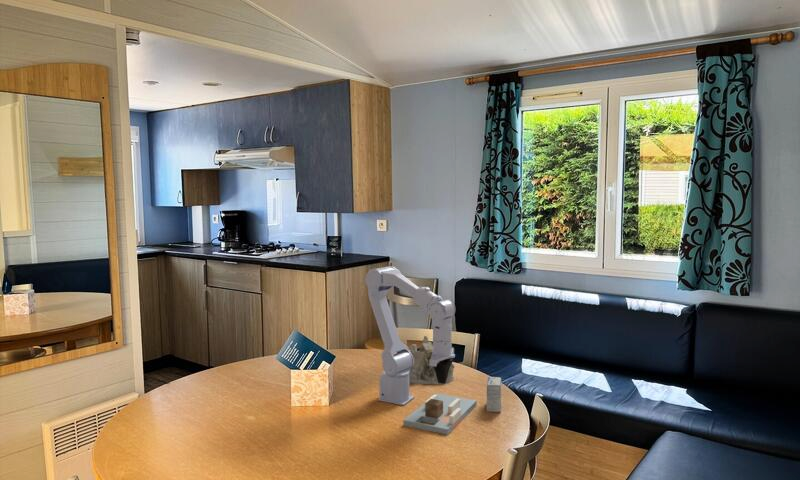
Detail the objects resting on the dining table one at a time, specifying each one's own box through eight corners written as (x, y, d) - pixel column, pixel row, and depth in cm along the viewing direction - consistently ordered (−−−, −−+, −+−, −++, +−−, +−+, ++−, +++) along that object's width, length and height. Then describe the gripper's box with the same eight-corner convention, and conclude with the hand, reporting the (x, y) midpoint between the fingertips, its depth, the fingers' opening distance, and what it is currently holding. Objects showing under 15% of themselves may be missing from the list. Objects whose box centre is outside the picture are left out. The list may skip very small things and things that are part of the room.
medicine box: (500, 412, 172) (501, 385, 171) (486, 411, 173) (486, 384, 172) (501, 403, 180) (501, 377, 179) (487, 402, 181) (487, 376, 180)
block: (425, 416, 166) (425, 403, 166) (430, 411, 169) (430, 398, 169) (437, 418, 164) (437, 405, 164) (443, 413, 168) (443, 400, 167)
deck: (403, 425, 163) (403, 412, 163) (436, 398, 185) (436, 386, 184) (447, 434, 157) (447, 421, 157) (476, 405, 178) (476, 393, 178)
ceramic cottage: (397, 377, 204) (400, 337, 203) (431, 370, 215) (433, 332, 213) (424, 392, 192) (428, 350, 191) (459, 383, 202) (462, 343, 201)
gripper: (445, 347, 162) (444, 392, 163) (463, 335, 175) (462, 377, 176) (423, 344, 165) (423, 388, 166) (442, 332, 178) (442, 374, 179)
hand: (441, 382), depth 171 cm, fingers closed
